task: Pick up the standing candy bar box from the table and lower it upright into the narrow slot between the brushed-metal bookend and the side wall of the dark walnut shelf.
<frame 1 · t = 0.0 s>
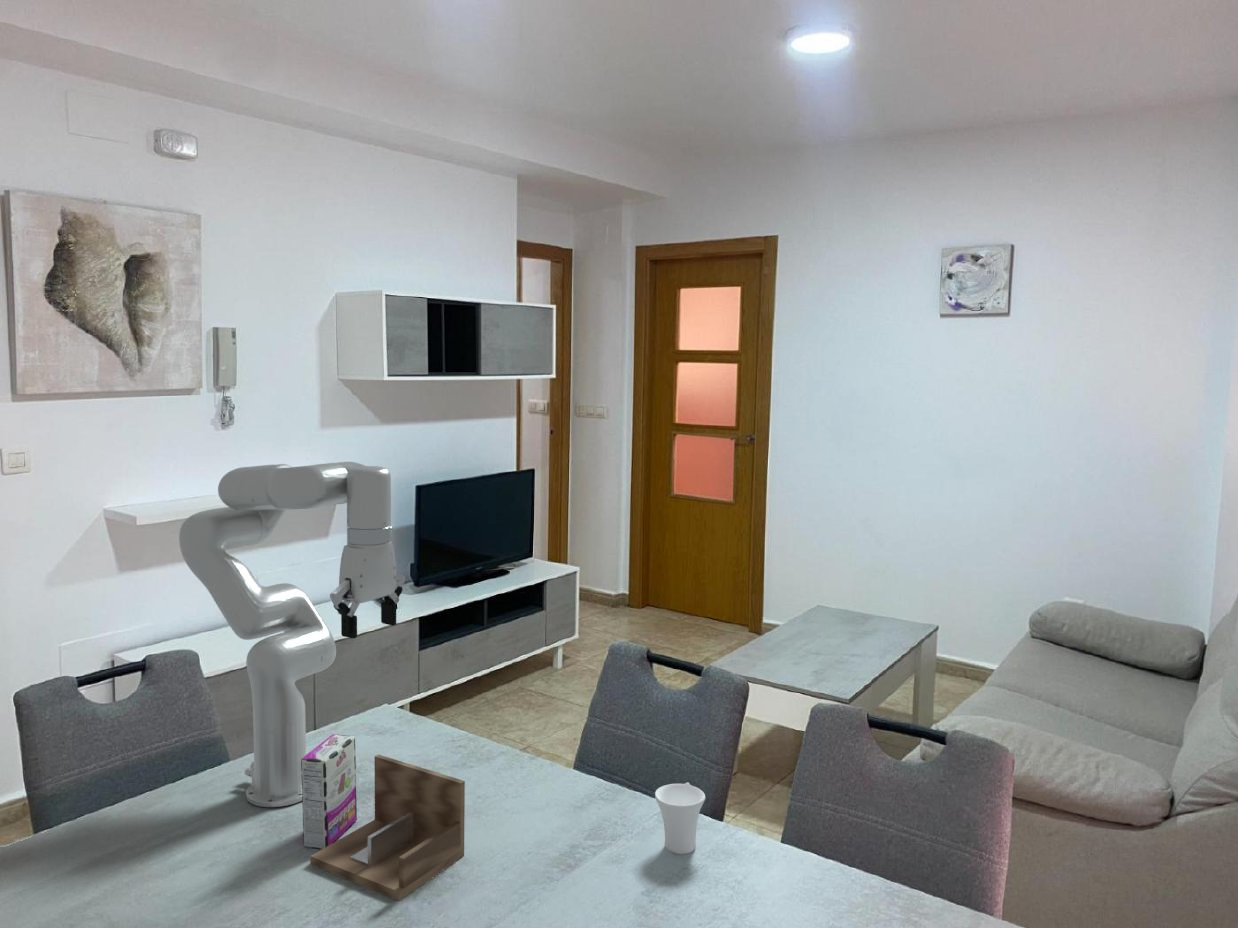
hand: (369, 630, 166), 37 cm above the table, tool pointing down, fingers open, 9 cm apart
cup: (678, 846, 165), on the table
bookend: (390, 860, 158), resting on shelf
candy bar box: (330, 834, 167), on the table
shelf: (388, 859, 158), on the table
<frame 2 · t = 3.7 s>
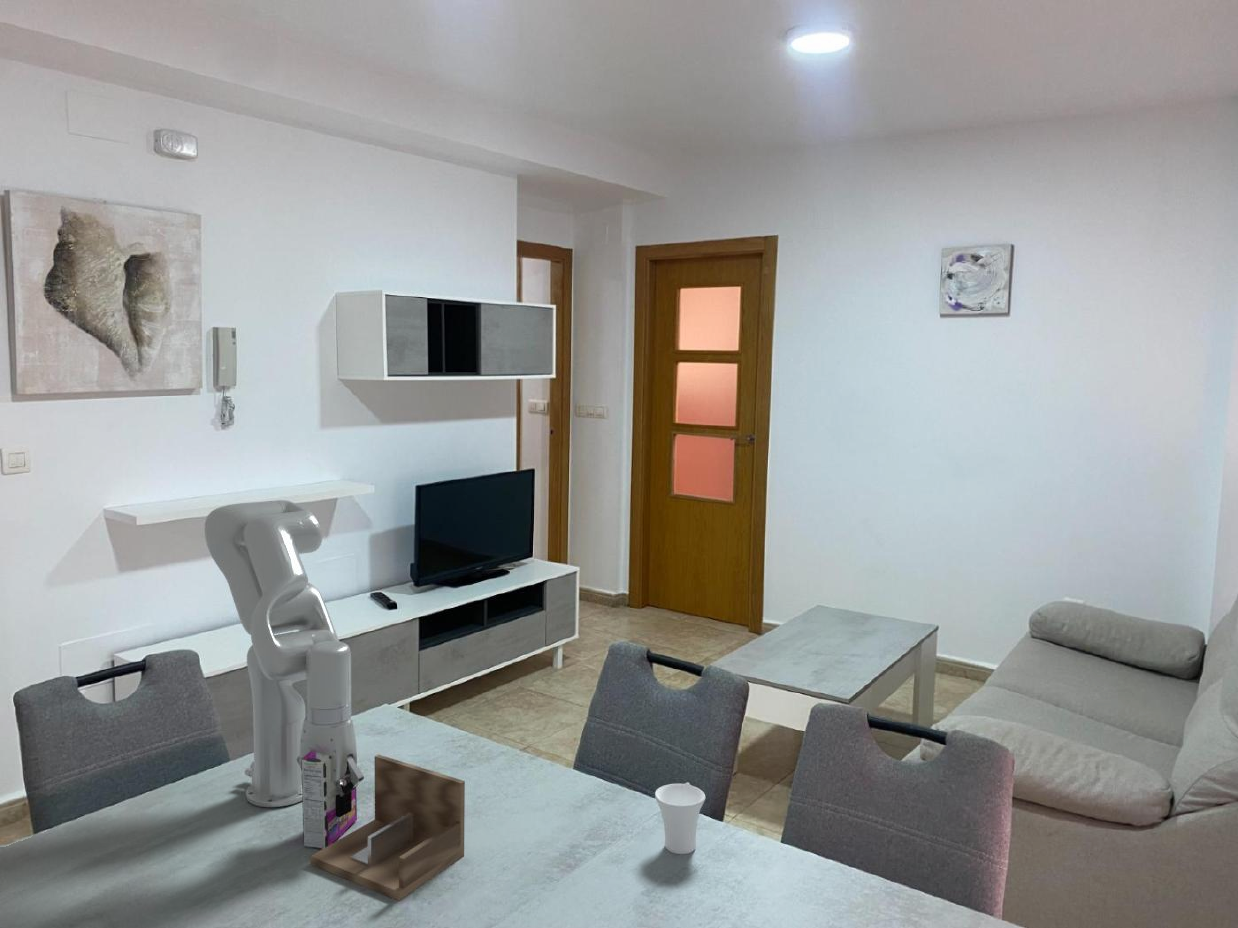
hand: (329, 807, 166), 5 cm above the table, tool pointing down, fingers closed on candy bar box, 6 cm apart
candy bar box: (330, 834, 167), on the table, touching gripper
everything else where it was.
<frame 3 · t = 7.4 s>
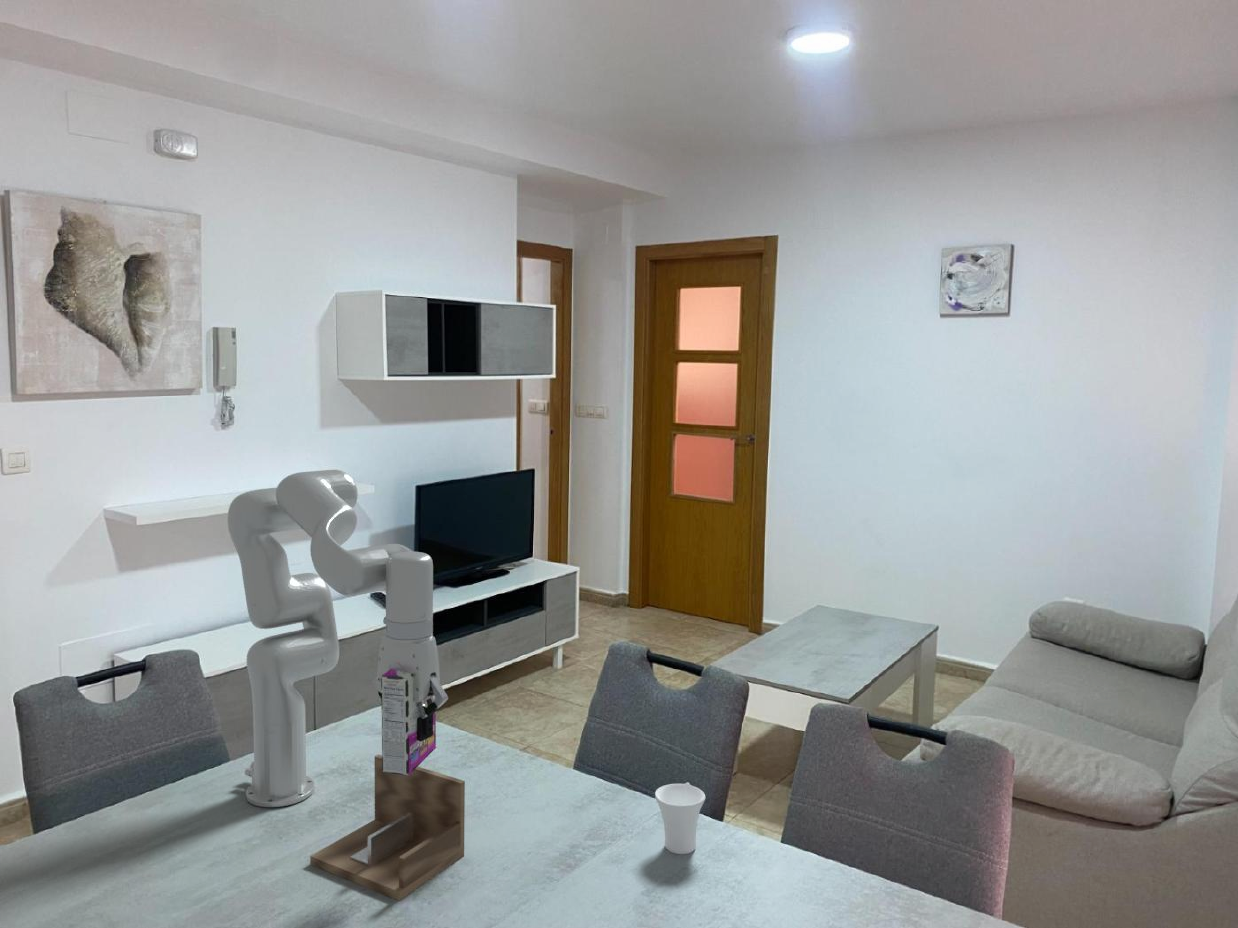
hand: (409, 732, 153), 24 cm above the table, tool pointing down, fingers closed on candy bar box, 6 cm apart
candy bar box: (408, 761, 154), point 19 cm above the table, touching gripper
everything else where it was.
when the fingers open (8 cm above the table, at t = 11.3 s): candy bar box drops 1 cm, resting on shelf.
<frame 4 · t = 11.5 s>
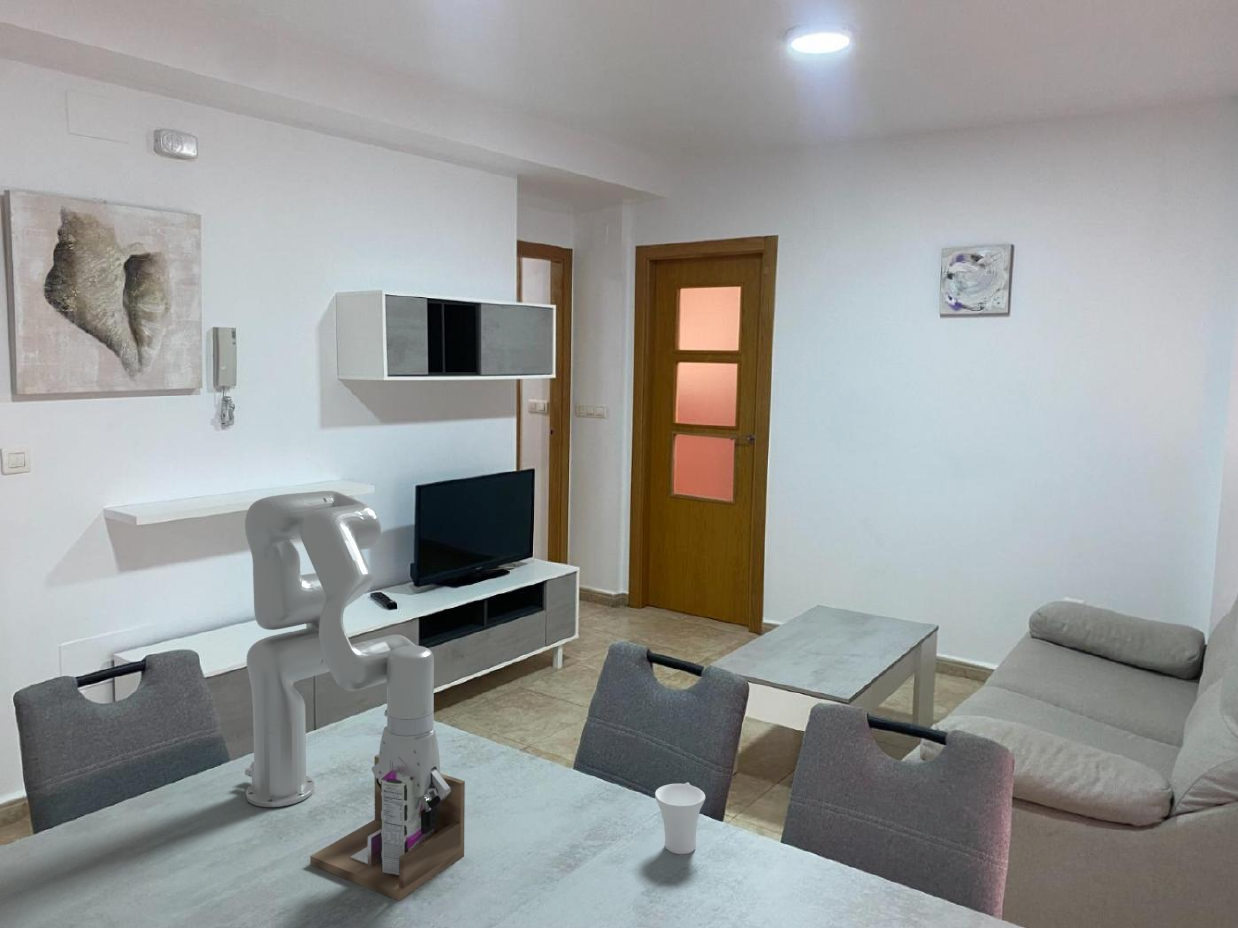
hand: (410, 822, 155), 8 cm above the table, tool pointing down, fingers open, 7 cm apart
candy bar box: (408, 860, 156), point 1 cm above the table, touching shelf
everything else where it was.
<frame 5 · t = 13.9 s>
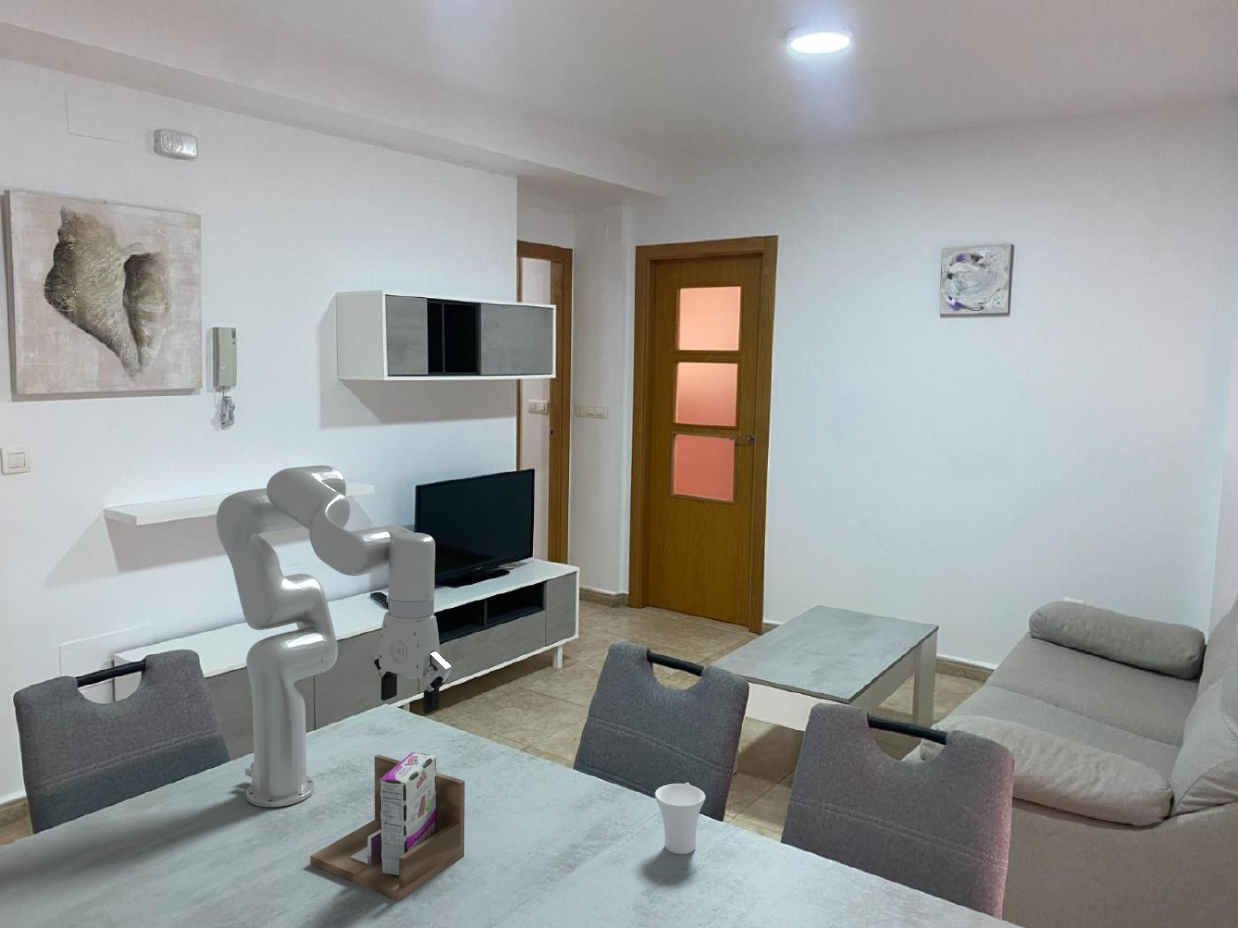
hand: (409, 704, 158), 27 cm above the table, tool pointing down, fingers open, 9 cm apart
nothing on the table moved.
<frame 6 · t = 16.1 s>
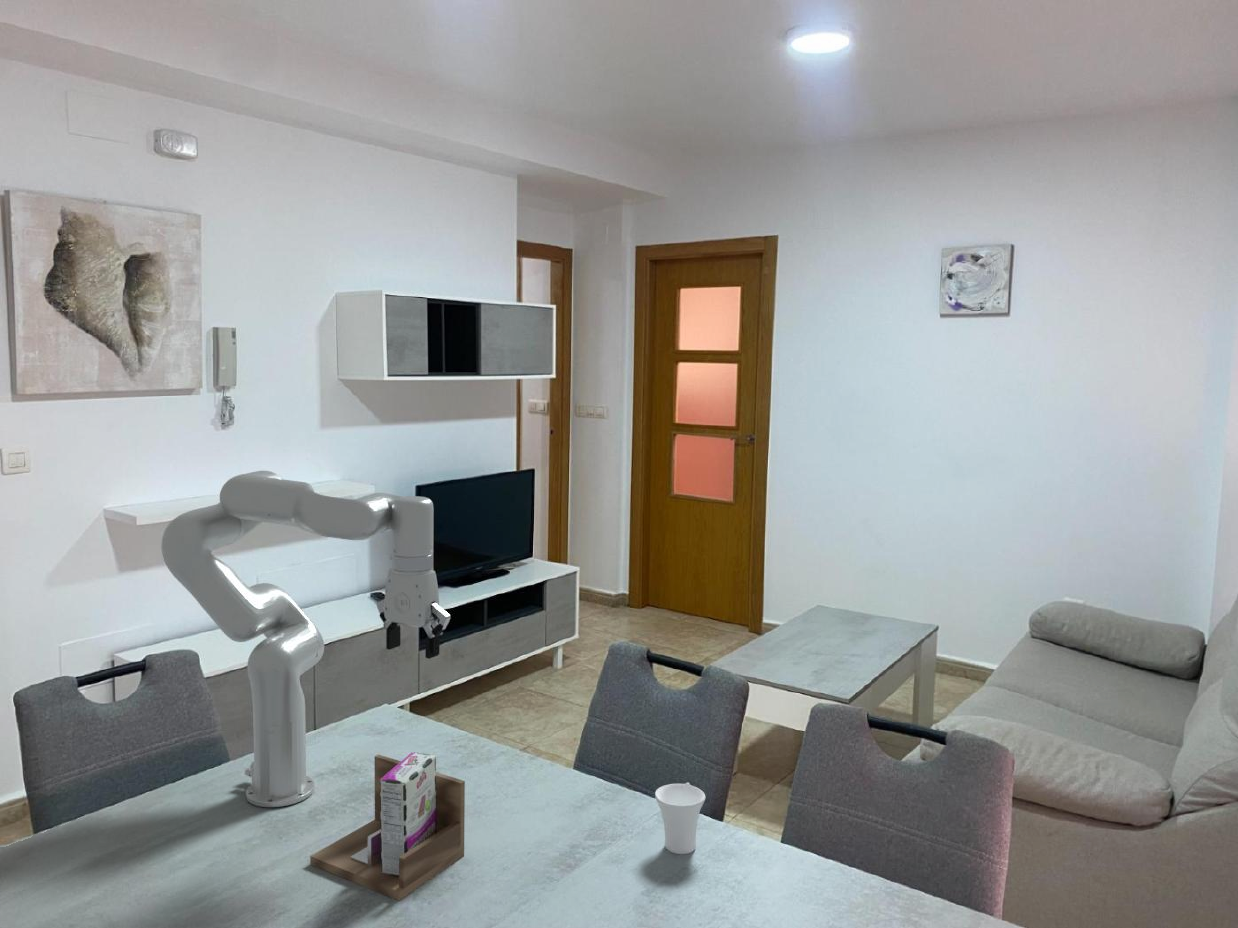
hand: (412, 652, 175), 30 cm above the table, tool pointing down, fingers open, 9 cm apart
nothing on the table moved.
at the end: candy bar box 0.3 cm from the target spot on the shelf, point 1.3 cm above the shelf's base; candy bar box tilted 0°; the gripper is holding nothing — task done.
